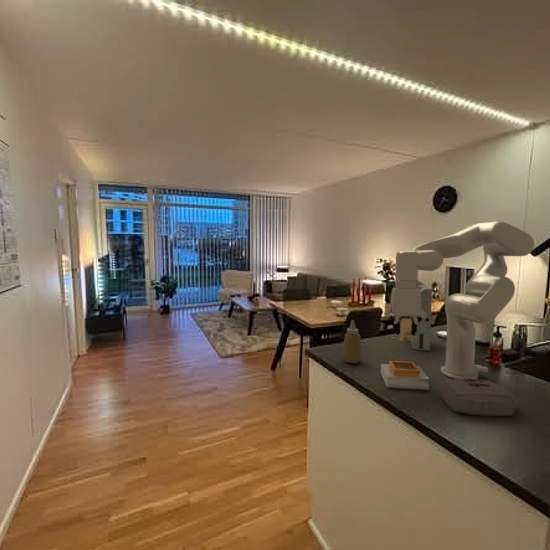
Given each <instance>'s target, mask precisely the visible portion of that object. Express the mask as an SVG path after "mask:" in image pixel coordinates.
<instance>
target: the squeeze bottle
mask: <svg viewBox="0 0 550 550" xmlns="http://www.w3.org/2000/svg"><path fill="white" fill-rule="evenodd" d="M361 339H362V338H361V335H360V334H359V329H358V328H356V324H355V320H351V321H350V325H349V327H348V328H347V329H346V333H345V334H344V339H343V347H342V355H343V357H344V360H345V362H347V363H349V364H358V363H359V362H360V360H361V357H362V355H363V352H362V351H363V350H362V341H361Z"/></svg>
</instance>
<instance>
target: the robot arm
mask: <svg viewBox="0 0 550 550" xmlns="http://www.w3.org/2000/svg"><path fill="white" fill-rule="evenodd" d="M534 241H535V240H534V239H533V236H531V234H530V233H528V232H526V231H524V230H522V229H519V228H518V227H516V226H514V225H512V224H510V223H507V222H504V221H498V220H497V221H487V222H485V221H484V222H477V223H474V224H472V225H470V226H467V227H466V228H463V229H461V230H459V231H456V232H455V233H453V234H450V235H447V236H444V237H441V238H439V239H435V240H432V241H429V242H426V243H423V244H420V245H418V246H415V247H414V248H411V249H410V250H399V251H397V252H396V254H395V275H394V276H395V277H394V278H395V280H394V281H395V282H394V287H393V288H392V290H391V294H390V301H389V307H388V308H387V309H386V310H385V311H384V312H383V314H384V316H386V317H387V318H388V319H389V320H390V321H391V322H392V324H393V330H392V331H393V333H394V334H395V335H399V324H398V320H399V317H400V316H408V317H412V318H413V328H412V335H413V336H415V333H416V332H417V325H418V323H419V322H420V321H421V320H422V319H424V318H425V317H427V314H426V313H425V311H424V310H423V309H422V308H421V295H420V290H419V289H418V287H419V286H422V285H423V282H422V281H419V271H425V272H426V271H428V272H433V271H436V270H438V269H441V266H442V265H443V263H444V259H451V258H457V257H461V256H464V255H465V254H468V253H469V252H471V251H474V250H476V249H478V248H481V247H482V249H483V255H484V260H483V263H482V265H481V266H480V268H478V270H477V271H476V272H474V274H473V275H472V277H471V278H469V280H468V281H467V282H466V284H465V288H464V290H465V292H466V293H460V292H459V293H453V294H451V295H449V296H448V297H447V298H446V299H445V302H444V310H445V315H446V339H445V341H446V345H445V361H444V362H445V365H443V366H441V367H440V373H441V374H443V375H444V376H446V377H448V378H450V379H467V378H470V379H478V378H479V372H482V373H488V372H489V367H488V366H481V364H476V363H475V354H476V352H475V350H476V349H475V348H476V336H477V335H476V327H475V324H474V323H476V324H481V325H486V324H490V323H491V322H492V321H494V320H495V318H497V317H498V315H499V314H500V313H501V312H502V311H504V308H506V306H507V305H508V304H509V303H510V302H511V301H512V298H513V297H514V295H515V291H516V287H515V283H514V282H513V280H512V279H510V278H509V277H507V274H508V265H507V263H506V259H505V257H525V256H527V255H529V254H531V253H532V252H533V249H534V247H535V242H534ZM390 313H391V314H392V315H391V314H390ZM417 316H418V317H417Z"/></svg>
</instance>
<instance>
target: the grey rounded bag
mask: <svg viewBox="0 0 550 550" xmlns="http://www.w3.org/2000/svg"><path fill="white" fill-rule="evenodd" d="M440 394H441V397H442V400H443V401H444V403H445V405H446V406H447V407H449V409H450V410H452V412H453V411H454V412H455V413H460V414H463V415H464V414H465V415H469V414H470V415H471V416H477V415H480V416H481V417H507V416H508V417H509V416H513V415H514V413H515V411H516V408H517V406H518V405H519V401H518V399H517V397H516V395H515V394H514V393H513V392H512V391H510V390H509V389H508V388H506V387H505V386H503V385H501V384H499V383H496V382H493V381H490V380H486V379H480V378H479V379H478V378H477V379H470V378H467V379H455V378H450V379H444V380H442V381H441V383H440Z"/></svg>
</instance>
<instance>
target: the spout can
mask: <svg viewBox="0 0 550 550" xmlns="http://www.w3.org/2000/svg"><path fill="white" fill-rule="evenodd" d="M398 324H399V335H397V340H399V341H403V342H409V341H411V340H412V328H413V318H412V317H408V316H400V317H399V320H398Z"/></svg>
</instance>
